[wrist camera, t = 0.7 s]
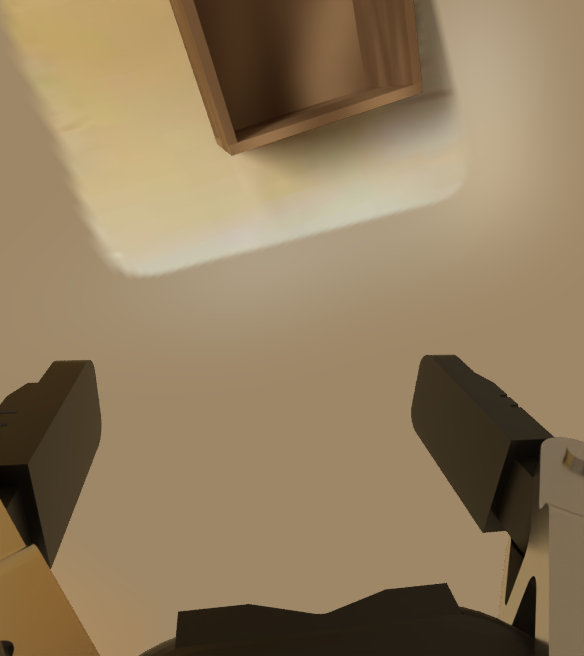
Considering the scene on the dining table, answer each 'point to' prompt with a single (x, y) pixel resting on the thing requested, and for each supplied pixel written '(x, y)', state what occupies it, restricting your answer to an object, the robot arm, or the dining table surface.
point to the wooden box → (296, 62)
